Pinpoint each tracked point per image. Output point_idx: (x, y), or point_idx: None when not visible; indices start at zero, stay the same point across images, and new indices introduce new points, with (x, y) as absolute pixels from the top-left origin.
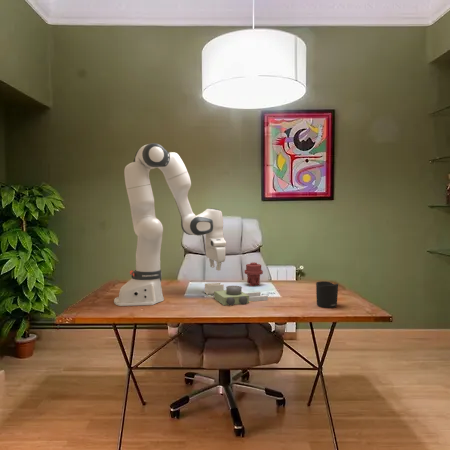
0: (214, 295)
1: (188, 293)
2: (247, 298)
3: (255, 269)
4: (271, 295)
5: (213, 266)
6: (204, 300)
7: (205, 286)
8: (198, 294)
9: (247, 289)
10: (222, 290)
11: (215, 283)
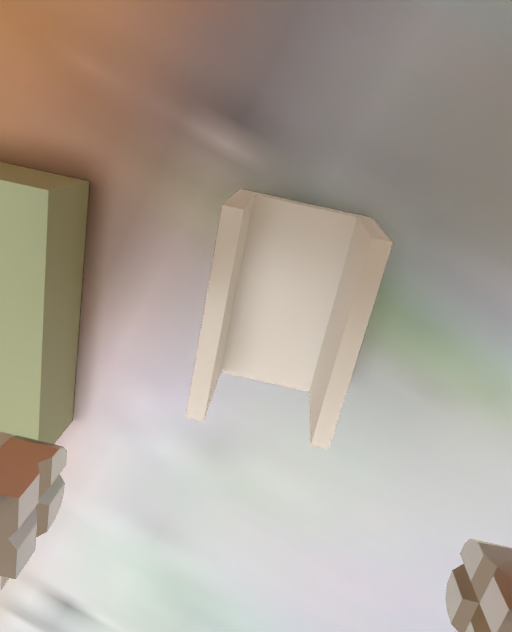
0: (56, 180)
1: (499, 9)
2: None
3: None
4: (7, 626)
5: (459, 595)
6: (39, 22)
7: (364, 233)
8: (362, 113)
9: (280, 621)
10: (40, 299)
11: (327, 382)
